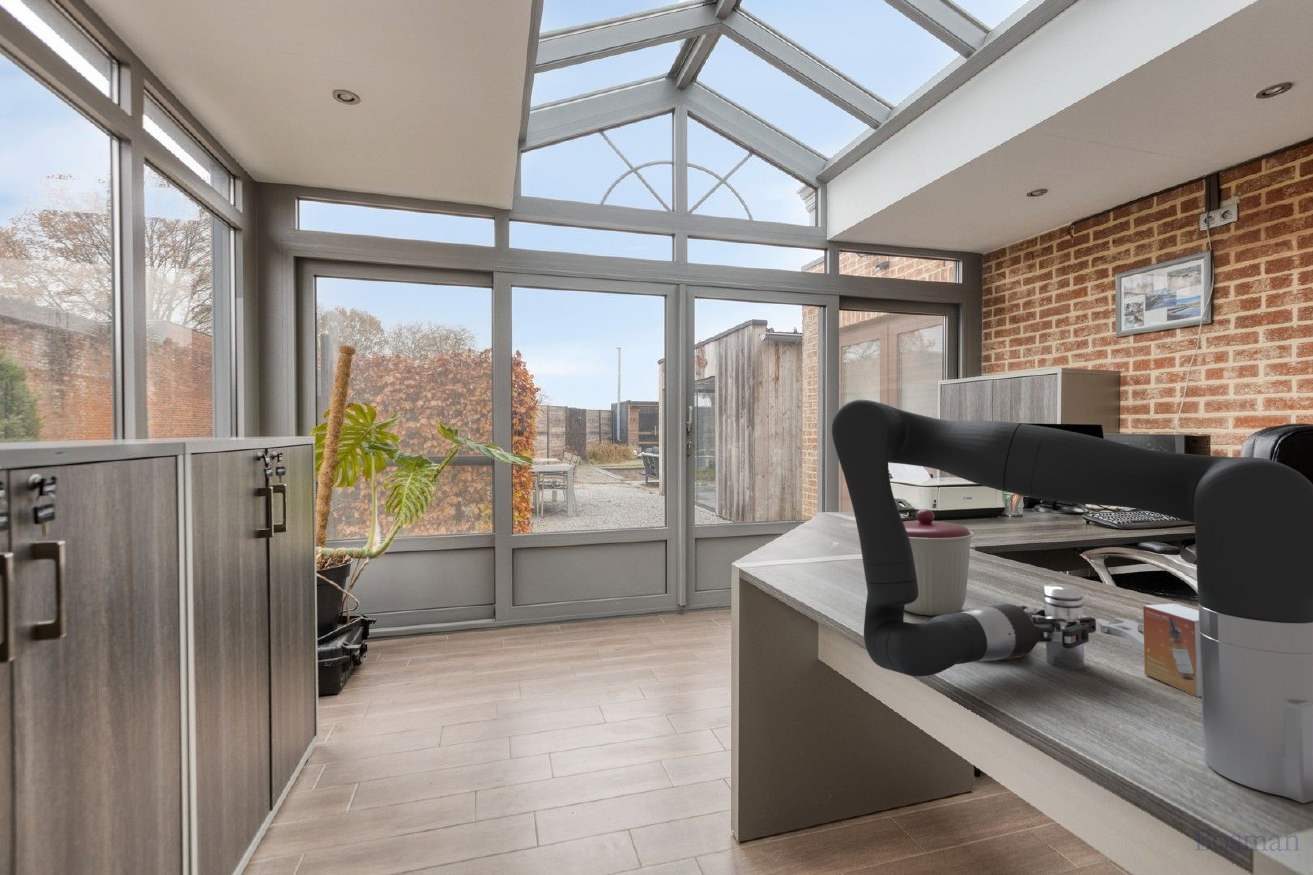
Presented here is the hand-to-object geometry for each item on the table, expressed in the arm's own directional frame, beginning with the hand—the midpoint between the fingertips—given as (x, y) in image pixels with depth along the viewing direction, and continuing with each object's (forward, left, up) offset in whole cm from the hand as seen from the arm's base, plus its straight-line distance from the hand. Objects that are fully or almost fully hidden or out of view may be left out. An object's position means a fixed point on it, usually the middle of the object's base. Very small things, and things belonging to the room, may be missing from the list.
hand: (1075, 619), depth 95 cm
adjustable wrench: (+1, -16, -7) cm, 17 cm away
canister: (+32, +1, -7) cm, 33 cm away
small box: (-12, -5, -7) cm, 15 cm away
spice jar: (0, +3, -7) cm, 7 cm away
